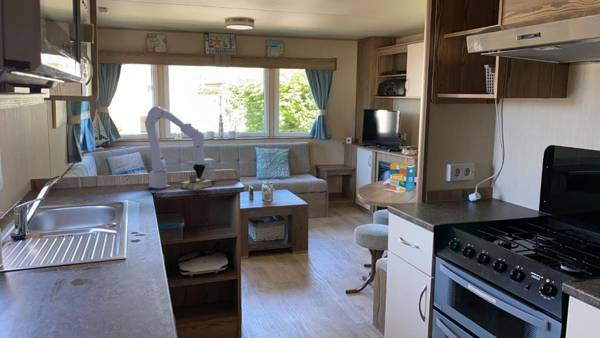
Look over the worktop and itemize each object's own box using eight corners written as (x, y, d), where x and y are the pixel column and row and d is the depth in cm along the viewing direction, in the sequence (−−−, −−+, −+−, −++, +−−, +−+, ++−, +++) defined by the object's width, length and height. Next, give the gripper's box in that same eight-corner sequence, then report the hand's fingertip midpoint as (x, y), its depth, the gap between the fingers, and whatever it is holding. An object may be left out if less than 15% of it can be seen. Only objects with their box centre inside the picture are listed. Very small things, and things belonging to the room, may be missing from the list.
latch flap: (196, 177, 263) (196, 176, 263) (201, 179, 266) (201, 178, 267) (200, 177, 262) (201, 176, 262) (205, 179, 265) (205, 178, 265)
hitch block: (181, 187, 259) (181, 182, 258) (198, 183, 270) (198, 178, 269) (195, 189, 253) (194, 184, 253) (211, 185, 264) (211, 180, 264)
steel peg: (188, 187, 259) (187, 175, 258) (193, 186, 262) (192, 174, 261) (193, 188, 257) (192, 175, 256) (198, 187, 260) (197, 174, 259)
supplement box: (199, 179, 282) (198, 158, 280) (211, 178, 285) (210, 157, 283) (203, 181, 275) (202, 160, 273) (215, 180, 279) (214, 159, 277)
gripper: (183, 154, 260) (184, 178, 262) (205, 155, 254) (206, 180, 256) (191, 152, 266) (192, 176, 268) (213, 153, 261) (214, 178, 263)
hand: (199, 178), depth 263 cm, fingers closed, pressing on latch flap
